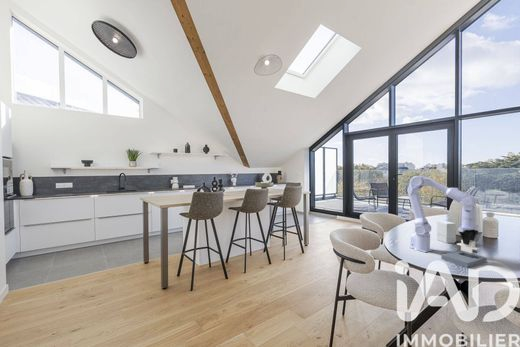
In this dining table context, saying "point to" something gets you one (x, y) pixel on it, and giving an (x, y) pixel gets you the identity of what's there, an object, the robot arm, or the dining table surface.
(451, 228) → the supplement box
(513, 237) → the dining table surface
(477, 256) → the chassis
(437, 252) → the dining table surface
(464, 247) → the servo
